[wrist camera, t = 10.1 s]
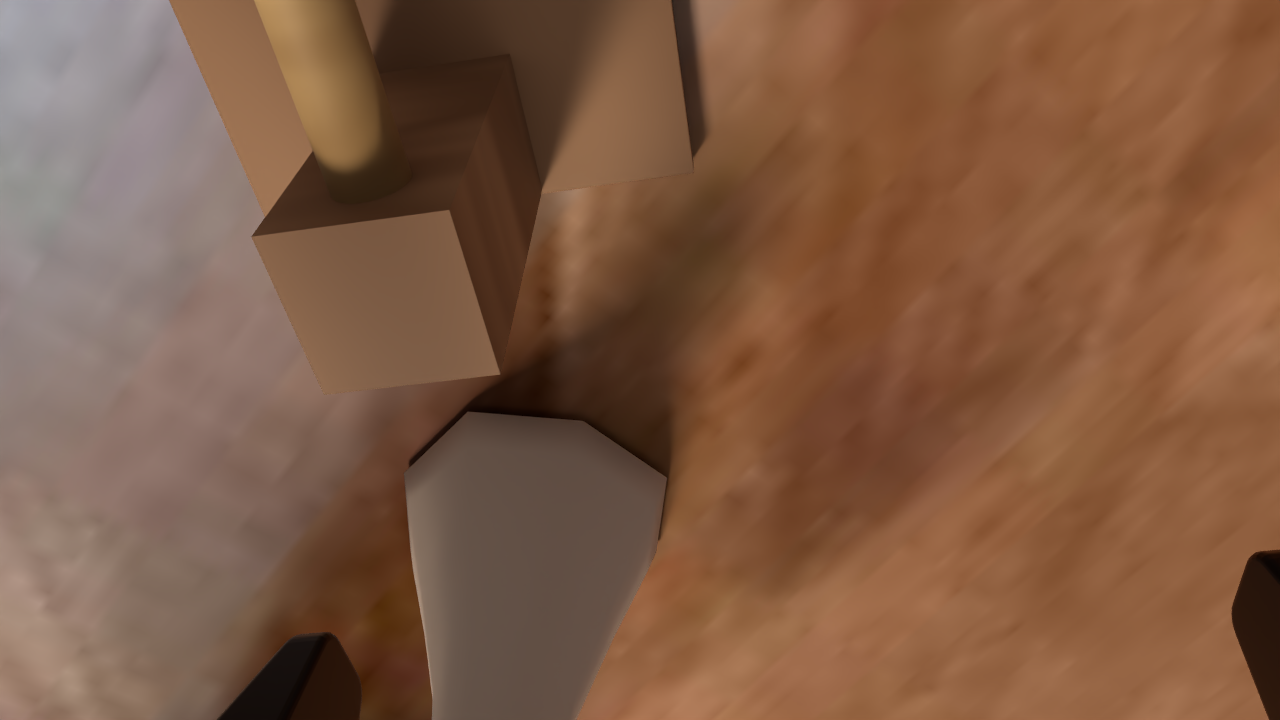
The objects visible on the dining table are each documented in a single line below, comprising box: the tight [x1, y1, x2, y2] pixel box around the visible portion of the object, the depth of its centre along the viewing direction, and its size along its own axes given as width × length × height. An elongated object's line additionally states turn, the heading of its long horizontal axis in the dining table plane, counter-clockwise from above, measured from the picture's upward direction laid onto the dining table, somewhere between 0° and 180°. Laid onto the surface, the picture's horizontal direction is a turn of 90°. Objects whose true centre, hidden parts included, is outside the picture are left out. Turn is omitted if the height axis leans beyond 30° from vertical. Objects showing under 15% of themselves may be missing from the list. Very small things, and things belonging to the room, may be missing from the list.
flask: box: [404, 412, 667, 720], centre depth 22 cm, size 7×7×10 cm
